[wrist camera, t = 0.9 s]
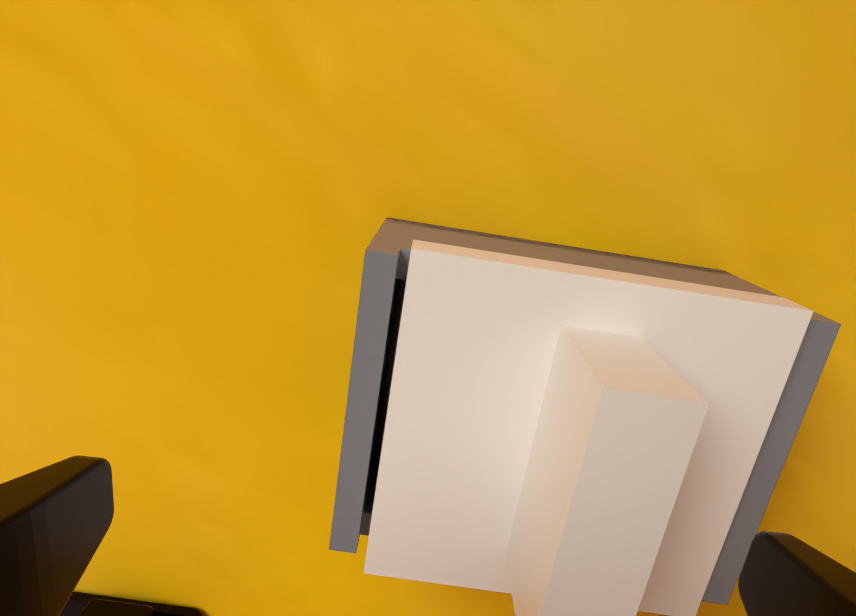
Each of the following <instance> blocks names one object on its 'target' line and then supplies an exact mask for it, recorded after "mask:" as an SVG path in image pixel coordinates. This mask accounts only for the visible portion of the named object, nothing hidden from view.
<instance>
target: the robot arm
mask: <svg viewBox="0 0 856 616" xmlns="http://www.w3.org/2000/svg"><path fill="white" fill-rule="evenodd" d="M113 513H114V501H113V486H112V471H111V466H110V463H109V462H108V461H107V460H106V459H104V458H97V457H88V456H73V457H70V458H68V459H65V460H62V461H60V462H57V463H55V464H52V465H49V466H47V467H44V468H41V469H39V470H36V471H34V472H31V473H28V474H26V475H23V476H21V477H18V478H15V479H13V480H10V481H8V482H5V483H2V484H0V616H202V615H201V613H200V612H199V611H198V610H196V609H193V608H187V607H180V606H172V605H165V604H157V603H150V602H142V601H135V600H128V599H120V598H113V597H105V596H98V595H90V594H83V593H76V592H73V591H74V589H75V587H76V585H77V584H78V582H79V580H80V578H81V577H82V575H83V573H84V571H85V569H86V568H87V566H88V564H89V562H90V561H91V559H92V557H93V555H94V554H95V552H96V550H97V548H98V547H99V545H100V543H101V541H102V539H103V538H104V536H105V534H106V532H107V531H108V529H109V527H110V524H111V522H112V518H113ZM738 586H739V593H740V597H741V600H742V602H743V605H744V607H745V610H746V612H747V615H748V616H856V573H855V572H853V571H852V570H850V569H848V568H847V567H845V566H843V565H841V564H840V563H838V562H836V561H835V560H833V559H831V558H830V557H828V556H826V555H825V554H823V553H821V552H820V551H818V550H816V549H814V548H813V547H811V546H809V545H808V544H806V543H804V542H803V541H801V540H799V539H798V538H796V537H794V536H792V535H789V534H784V533H775V532H766V531H762V532H759V533H757V534H756V535H755V536H754V537H753V539H752V542H751V545H750V547H749V550H748V553H747V556H746V559H745V561H744V564H743V567H742V570H741V572H740V575H739V582H738Z"/></svg>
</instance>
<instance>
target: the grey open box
mask: <svg viewBox="0 0 856 616" xmlns="http://www.w3.org/2000/svg"><path fill="white" fill-rule="evenodd" d="M413 239H414V240H420V241H427V242H433V243H439V244H446V245H452V246H458V247H465V248H471V249H478V250H484V251H490V252H497V253H503V254H510V255H516V256H522V257H529V258H535V259H541V260H548V261H554V262H561V263H567V264H573V265H580V266H586V267H593V268H599V269H605V270H612V271H618V272H624V273H631V274H637V275H644V276H650V277H656V278H663V279H669V280H676V281H682V282H688V283H695V284H701V285H707V286H714V287H720V288H727V289H733V290H739V291H746V292H752V293H758V294H765V295H771V296H778V295H776V294H774V293H772V292H769V291H767V290H765V289H763V288H761V287H758V286H756V285H754V284H752V283H750V282H748V281H745V280H743V279H741V278H739V277H737V276H734V275H732V274H730V273H728V272H726V271H723V270H716V269H710V268H704V267H697V266H691V265H685V264H678V263H672V262H666V261H659V260H653V259H647V258H640V257H634V256H628V255H621V254H615V253H609V252H602V251H596V250H590V249H583V248H577V247H571V246H564V245H558V244H552V243H545V242H539V241H532V240H526V239H520V238H513V237H507V236H501V235H494V234H488V233H482V232H475V231H469V230H463V229H456V228H450V227H444V226H437V225H431V224H425V223H418V222H412V221H406V220H399V219H393V218H386V220H385V221H384V223H383V224H382V226H381V227H380V229H379V230H378V232H377V233H376V235H375V237H374V238H373V240H372V241H371V243H370V244H369V246H368V247H367V249H366V250H365V259H364V267H363V275H362V283H361V292H360V300H359V308H358V316H357V324H356V333H355V341H354V349H353V357H352V365H351V374H350V382H349V390H348V398H347V406H346V415H345V423H344V431H343V439H342V447H341V456H340V464H339V472H338V480H337V488H336V497H335V505H334V513H333V521H332V529H331V538H330V546H329V550H336V551H343V552H350V553H356V551H357V546H358V541H359V536H360V534H361V535H368V536H369V531H370V524H371V518H372V511H373V504H374V497H375V490H376V484H377V477H378V470H379V463H380V457H381V450H382V443H383V436H384V429H385V423H386V416H387V409H388V402H389V395H390V389H391V382H392V375H393V368H394V362H395V355H396V348H397V341H398V334H399V328H400V321H401V314H402V307H403V301H404V294H405V287H406V280H407V273H408V267H409V260H410V253H411V247H412V243H413ZM778 297H780V296H778ZM840 326H841V324H839V323H837V322H835V321H833V320H831V319H828V318H826V317H824V316H822V315H820V314H817V313H815V312H813V314H812V317H811V319H810V322H809V324H808V327H807V330H806V332H805V335H804V337H803V340H802V342H801V345H800V348H799V350H798V353H797V355H796V358H795V361H794V363H793V366H792V368H791V371H790V373H789V376H788V379H787V381H786V384H785V386H784V389H783V391H782V394H781V397H780V399H779V402H778V404H777V407H776V410H775V412H774V415H773V417H772V420H771V422H770V425H769V428H768V430H767V433H766V435H765V438H764V440H763V443H762V446H761V448H760V451H759V453H758V456H757V459H756V461H755V464H754V466H753V469H752V471H751V474H750V477H749V479H748V482H747V484H746V487H745V489H744V492H743V495H742V497H741V500H740V502H739V505H738V508H737V510H736V513H735V515H734V518H733V520H732V523H731V526H730V528H729V531H728V533H727V536H726V538H725V541H724V544H723V546H722V549H721V551H720V554H719V557H718V559H717V562H716V564H715V567H714V569H713V572H712V575H711V577H710V580H709V582H708V585H707V587H706V590H705V593H704V595H703V598H702V600H701V601H703V602H710V603H718V604H725V605H727V604H728V601H729V599H730V596H731V594H732V591H733V589H734V586H735V584H736V581H737V579H738V576H739V574H740V572H741V569H742V567H743V564H744V561H745V559H746V556H747V553H748V550H749V547H750V545H751V542H752V539H753V537H754V536H755V535H756V532H757V530H758V527H759V525H760V522H761V520H762V518H763V515H764V513H765V510H766V508H767V505H768V503H769V500H770V498H771V495H772V493H773V490H774V488H775V486H776V483H777V481H778V478H779V476H780V473H781V471H782V468H783V466H784V463H785V461H786V459H787V456H788V454H789V451H790V449H791V446H792V444H793V441H794V439H795V436H796V434H797V432H798V429H799V427H800V424H801V422H802V419H803V417H804V414H805V412H806V409H807V407H808V404H809V402H810V400H811V397H812V395H813V392H814V390H815V387H816V385H817V382H818V380H819V377H820V375H821V373H822V370H823V368H824V365H825V363H826V360H827V358H828V355H829V353H830V350H831V348H832V346H833V343H834V341H835V338H836V336H837V333H838V331H839V328H840Z"/></svg>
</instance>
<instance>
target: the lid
mask: <svg viewBox="0 0 856 616" xmlns="http://www.w3.org/2000/svg"><path fill="white" fill-rule="evenodd" d="M813 312H814V311H812V310H810V309H808V308H805V307H803V306H801V305H799V304H797V303H794V302H792V301H790V300H788V299H786V298H783V297H778V296H771V295H765V294H758V293H752V292H746V291H739V290H733V289H727V288H720V287H714V286H707V285H701V284H695V283H688V282H682V281H676V280H669V279H663V278H656V277H650V276H644V275H637V274H631V273H624V272H618V271H612V270H605V269H599V268H593V267H586V266H580V265H573V264H567V263H561V262H554V261H548V260H541V259H535V258H529V257H522V256H516V255H510V254H503V253H497V252H490V251H484V250H478V249H471V248H465V247H458V246H452V245H446V244H439V243H433V242H427V241H420V240H414V239H413V243H412V247H411V253H410V260H409V267H408V273H407V280H406V287H405V294H404V301H403V307H402V314H401V321H400V328H399V334H398V341H397V348H396V355H395V362H394V368H393V375H392V382H391V389H390V395H389V402H388V409H387V416H386V423H385V429H384V436H383V443H382V450H381V457H380V463H379V470H378V477H377V484H376V490H375V497H374V504H373V511H372V518H371V524H370V531H369V538H368V545H367V551H366V558H365V565H364V572H363V573H365V574H372V575H379V576H386V577H394V578H401V579H408V580H416V581H423V582H430V583H437V584H445V585H452V586H459V587H466V588H474V589H481V590H488V591H495V592H503V593H510V594H512V600H513V606H514V613H515V616H636V614H637V611H640V612H648V613H655V614H662V615H669V616H696V613H697V611H698V608H699V605H700V603H701V600H702V598H703V595H704V593H705V590H706V587H707V585H708V582H709V580H710V577H711V575H712V572H713V569H714V567H715V564H716V562H717V559H718V557H719V554H720V551H721V549H722V546H723V544H724V541H725V538H726V536H727V533H728V531H729V528H730V526H731V523H732V520H733V518H734V515H735V513H736V510H737V508H738V505H739V502H740V500H741V497H742V495H743V492H744V489H745V487H746V484H747V482H748V479H749V477H750V474H751V471H752V469H753V466H754V464H755V461H756V459H757V456H758V453H759V451H760V448H761V446H762V443H763V440H764V438H765V435H766V433H767V430H768V428H769V425H770V422H771V420H772V417H773V415H774V412H775V410H776V407H777V404H778V402H779V399H780V397H781V394H782V391H783V389H784V386H785V384H786V381H787V379H788V376H789V373H790V371H791V368H792V366H793V363H794V361H795V358H796V355H797V353H798V350H799V348H800V345H801V342H802V340H803V337H804V335H805V332H806V330H807V327H808V324H809V322H810V319H811V317H812V314H813Z"/></svg>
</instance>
